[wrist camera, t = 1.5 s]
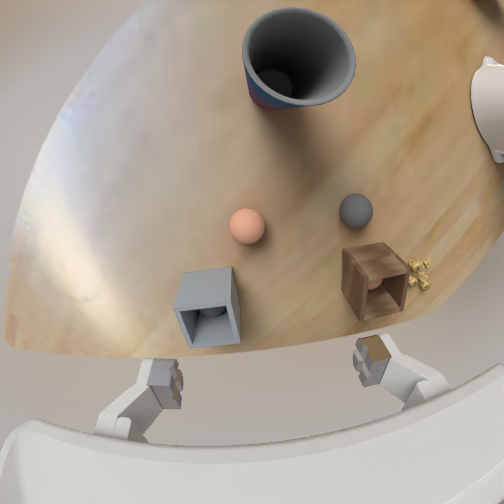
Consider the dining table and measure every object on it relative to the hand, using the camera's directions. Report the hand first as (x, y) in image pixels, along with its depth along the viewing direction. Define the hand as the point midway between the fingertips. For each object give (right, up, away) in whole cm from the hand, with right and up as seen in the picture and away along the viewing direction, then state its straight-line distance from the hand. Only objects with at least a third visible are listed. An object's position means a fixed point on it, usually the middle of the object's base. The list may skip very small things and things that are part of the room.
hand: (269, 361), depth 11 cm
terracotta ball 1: (-1, +9, +21) cm, 23 cm away
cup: (+1, +23, +15) cm, 27 cm away
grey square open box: (-6, 0, +25) cm, 26 cm away
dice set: (+25, +2, +26) cm, 36 cm away
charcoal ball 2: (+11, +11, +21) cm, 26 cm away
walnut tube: (+15, +3, +25) cm, 29 cm away
